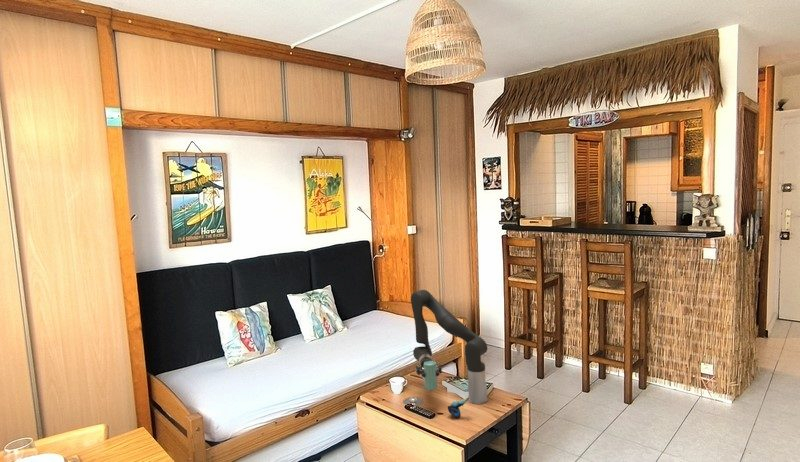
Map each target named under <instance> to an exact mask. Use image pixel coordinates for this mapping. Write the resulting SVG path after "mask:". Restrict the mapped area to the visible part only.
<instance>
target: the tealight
mask: <svg viewBox="0 0 800 462" xmlns="http://www.w3.org/2000/svg"><path fill="white" fill-rule="evenodd" d="M410 397H411V398H410V402H411V403H416V402H417V398H416V397H417V396H410Z"/></svg>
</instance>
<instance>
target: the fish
mask: <svg viewBox="0 0 800 462" xmlns="http://www.w3.org/2000/svg"><path fill="white" fill-rule="evenodd" d="M467 401H469V398H464V399H461V400H457V399H456V400H454V401H453V402H451V404H450V405H448V406H447V410H448V413H449V414H450V415H451V416H452V417H454V418H455V419H460V417H461V413H462V412H461V409H460V407H464V405H466V403H467Z"/></svg>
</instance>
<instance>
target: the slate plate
mask: <svg viewBox="0 0 800 462" xmlns="http://www.w3.org/2000/svg"><path fill="white" fill-rule="evenodd" d="M411 397H412V396H409V397H406V398H404V399H403V401H402V403H403V404H404V405H406V404H412V405H414V406H413V407H417V406H421V405H422V404H424V399H423V398H421V397H418V396H415V397H416V398H417V402H416V403H411V402H410V398H411ZM406 406H407V405H406Z"/></svg>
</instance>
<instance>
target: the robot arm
mask: <svg viewBox="0 0 800 462" xmlns="http://www.w3.org/2000/svg"><path fill="white" fill-rule="evenodd" d="M410 305H411V309H412V314H413V315H412V316H413V320H414V325H415V341H416V343H418V344H421V345H424V346H416V347H414V349H413V351H412V353H413V357H414V358H415V360H416V361H417V362H418V363H419V364H418V365H419V366H418V365H416V366H414V367H415V368H414V369H415V373H416V374H417V376H422V378H424V377H425V372H424V362H426V361H434V360H433V358H432V356H433V351H432V348H431V346H430V342H429V341H430V340H429V329H428V324H427V322H426V319H424V318H425V317H424V314H423V307H426V308H427V309H429V311H430V312H432V314H433V316H434V318H435V321H436V323H437V324H438V326H440V327H441V328H442V329H443V331H445V332H446V333H448V334H450V335H452V336H454V337H457V338H459V339H462V341H464V342H465V343H466V344H465V346H464V347H465V348H464V357H465V365H466V367H467V382H468V383H467V387H468V389H467V391H468V402H469V403H471V404H475V405H482V404H484V403H487V402H488V385H487V383H486V365H485V363H484V362H483V361H482V359H481V357H482V356H483V355H484V354H485V353H487V351H488V345H487V343H486V341H485V340H484V339H483V338H482V337H480V336H479V335H478V334H476V333H475V332H474V331H472V330H471V329H469V328H468V327H467V326H466V325H465V324H464V323H462V322H461V321H460V320H459V319H458V318H457V317H456V316H454V314H452V313H451V312H450V311H449V310H448V309H446V308H445V307H444V306H443V305H442V304H441V303H440V302H439V301H438V300H437V299H436V298H435V297H434V295H432V294H431V292H429V291H428V290H426V289H420V290H417V291H414V292H413V293H411V296H410ZM436 368H437V377H439V376H440V374H442V372H443V371H442V369H443V368H442V365H441V364H438V365H436Z"/></svg>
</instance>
